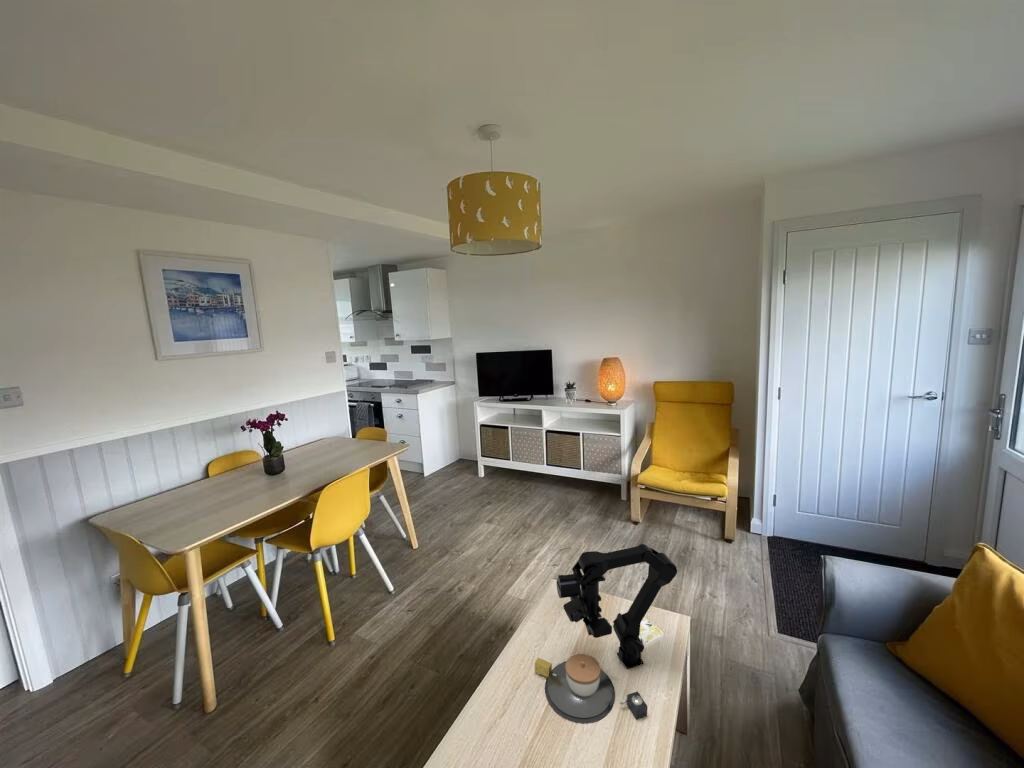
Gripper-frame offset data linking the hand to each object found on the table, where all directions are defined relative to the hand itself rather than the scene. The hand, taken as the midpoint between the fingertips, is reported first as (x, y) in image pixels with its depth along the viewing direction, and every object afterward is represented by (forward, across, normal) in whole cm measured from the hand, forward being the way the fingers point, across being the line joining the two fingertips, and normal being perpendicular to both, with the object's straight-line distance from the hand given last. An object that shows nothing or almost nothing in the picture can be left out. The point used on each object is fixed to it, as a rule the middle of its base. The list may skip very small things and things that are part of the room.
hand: (590, 634), depth 140 cm
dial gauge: (+12, +19, +5) cm, 22 cm away
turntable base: (+12, +7, -7) cm, 16 cm away
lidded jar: (+12, +8, -6) cm, 15 cm away
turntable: (+11, +5, -9) cm, 15 cm away
